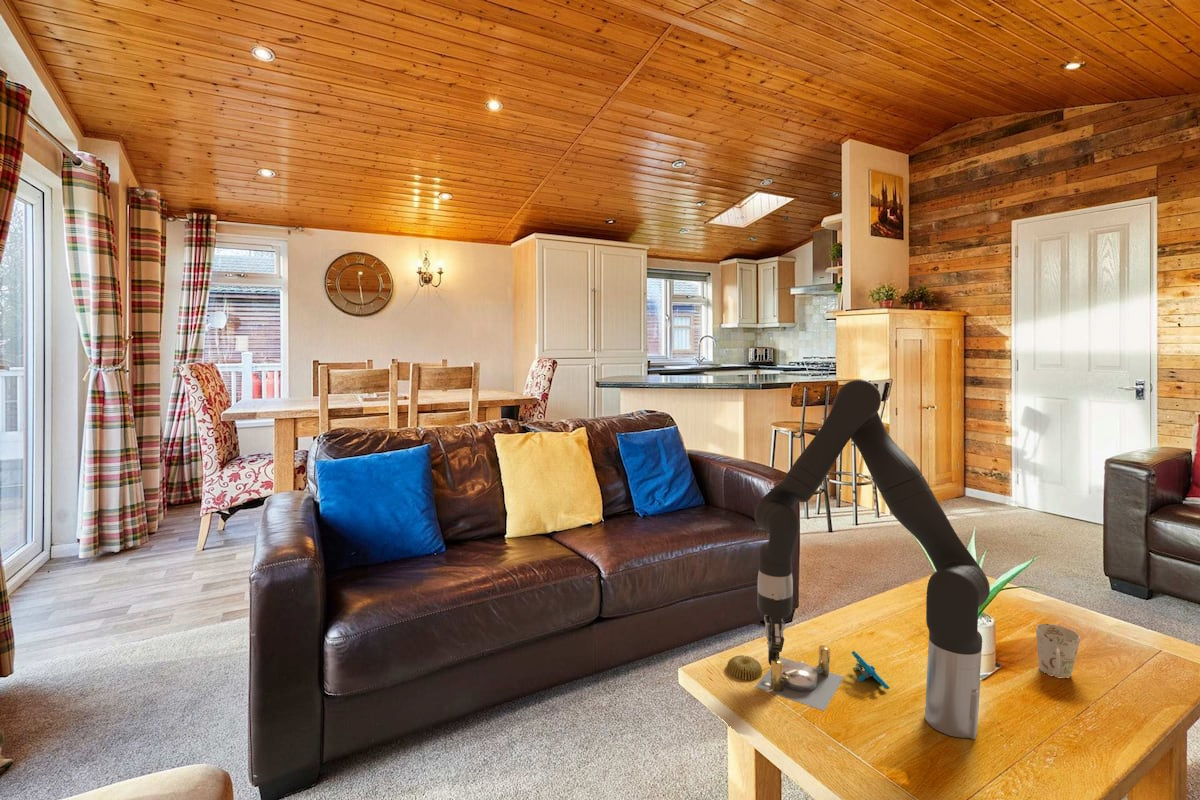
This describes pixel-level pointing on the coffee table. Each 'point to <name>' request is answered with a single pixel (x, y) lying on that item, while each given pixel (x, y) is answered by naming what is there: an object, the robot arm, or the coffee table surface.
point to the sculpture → (744, 667)
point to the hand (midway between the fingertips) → (773, 663)
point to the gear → (867, 670)
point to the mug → (1056, 649)
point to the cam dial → (799, 672)
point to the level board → (813, 697)
